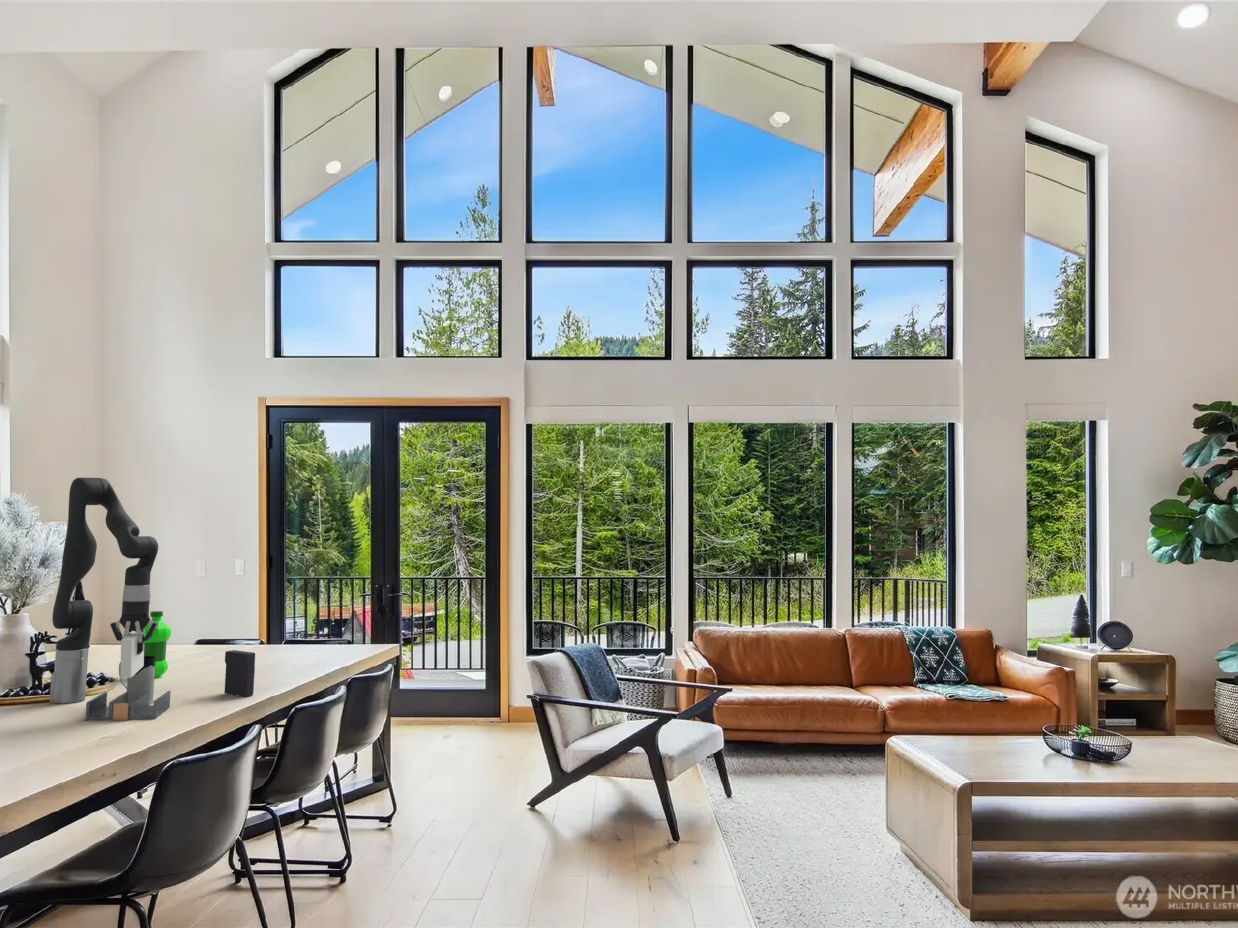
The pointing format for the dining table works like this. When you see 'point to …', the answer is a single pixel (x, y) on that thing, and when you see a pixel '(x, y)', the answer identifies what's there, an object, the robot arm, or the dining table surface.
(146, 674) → the tall mug
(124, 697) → the rack
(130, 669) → the panel
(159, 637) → the plastic bottle
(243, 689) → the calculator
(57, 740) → the dining table surface
